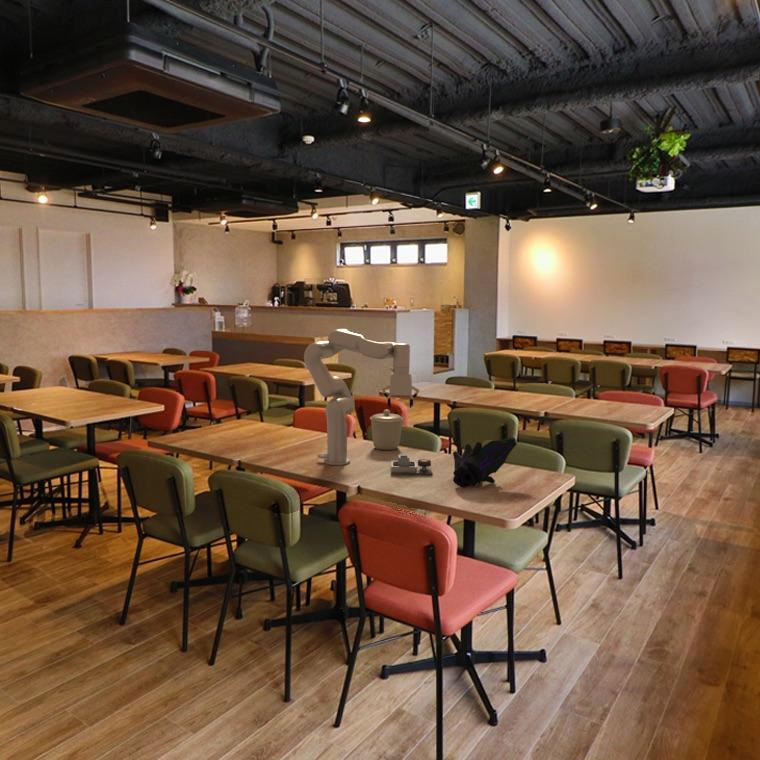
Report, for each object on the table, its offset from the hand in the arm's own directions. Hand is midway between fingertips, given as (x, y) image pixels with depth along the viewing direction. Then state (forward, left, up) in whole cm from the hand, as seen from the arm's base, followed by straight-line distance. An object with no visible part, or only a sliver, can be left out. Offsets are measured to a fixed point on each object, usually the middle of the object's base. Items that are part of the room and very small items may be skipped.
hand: (400, 407), depth 290 cm
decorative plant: (+34, -18, -30) cm, 49 cm away
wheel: (+12, -2, -27) cm, 29 cm away
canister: (-6, +44, -30) cm, 53 cm away
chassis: (+6, -2, -30) cm, 30 cm away
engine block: (+2, -2, -29) cm, 29 cm away
